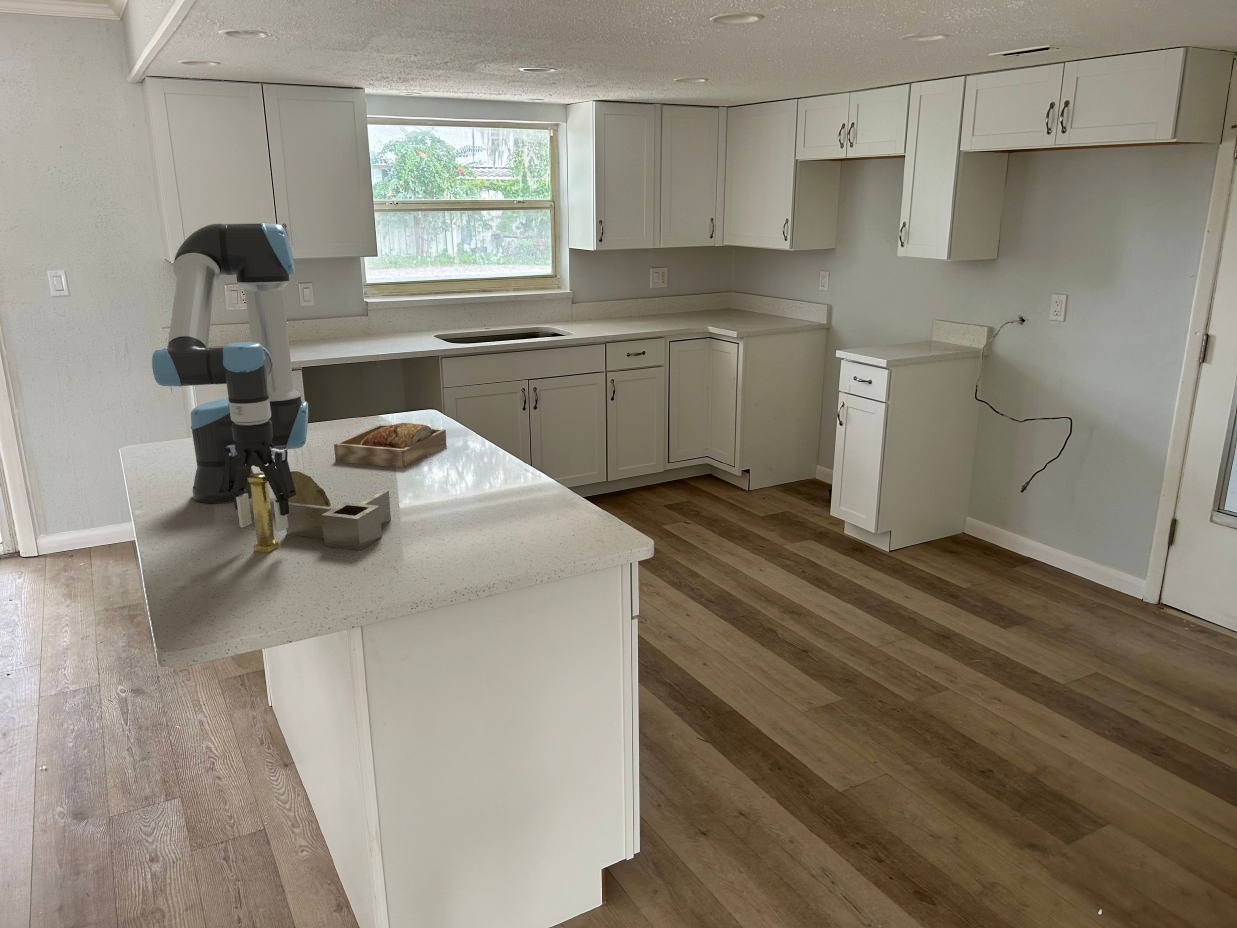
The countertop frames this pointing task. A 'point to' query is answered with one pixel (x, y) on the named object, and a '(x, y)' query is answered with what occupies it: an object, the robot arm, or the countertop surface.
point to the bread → (397, 435)
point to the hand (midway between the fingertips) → (264, 527)
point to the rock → (308, 491)
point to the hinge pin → (262, 513)
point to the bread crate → (388, 450)
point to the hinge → (341, 522)
